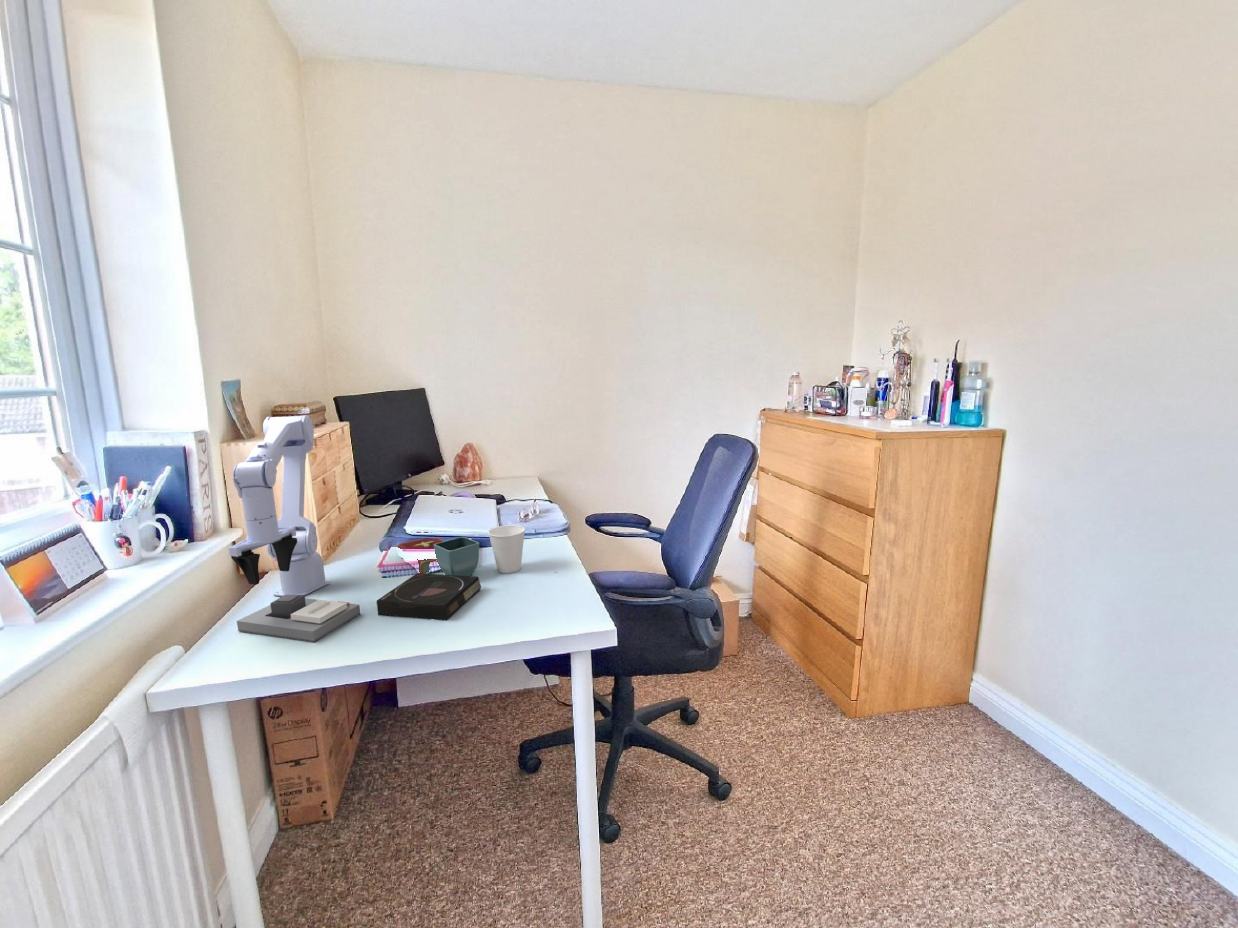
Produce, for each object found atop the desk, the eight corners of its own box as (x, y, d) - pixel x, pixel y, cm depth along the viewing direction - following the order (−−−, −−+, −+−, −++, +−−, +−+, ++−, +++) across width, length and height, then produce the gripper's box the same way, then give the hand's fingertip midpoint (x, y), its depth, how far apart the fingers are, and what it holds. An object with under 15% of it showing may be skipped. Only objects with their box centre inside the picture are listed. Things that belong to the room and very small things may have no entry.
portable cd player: (448, 622, 120) (447, 605, 120) (378, 617, 124) (376, 600, 123) (481, 592, 136) (480, 576, 136) (418, 588, 140) (417, 573, 139)
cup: (495, 563, 154) (493, 525, 152) (531, 562, 154) (528, 524, 152) (485, 576, 145) (483, 536, 143) (523, 576, 144) (521, 535, 142)
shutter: (319, 604, 124) (318, 597, 123) (347, 607, 122) (346, 600, 121) (291, 619, 117) (290, 611, 116) (320, 623, 114) (319, 615, 114)
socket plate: (289, 605, 130) (288, 593, 129) (360, 614, 124) (359, 601, 124) (238, 631, 118) (236, 618, 117) (314, 642, 112) (312, 628, 112)
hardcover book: (421, 577, 147) (420, 562, 146) (397, 556, 163) (395, 543, 162) (464, 566, 154) (463, 551, 153) (437, 547, 170) (436, 534, 170)
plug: (307, 615, 124) (304, 593, 123) (293, 624, 119) (289, 602, 118) (288, 614, 124) (285, 593, 123) (273, 624, 120) (270, 601, 119)
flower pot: (435, 576, 146) (432, 543, 144) (465, 567, 152) (463, 535, 150) (451, 585, 140) (448, 551, 138) (482, 575, 146) (480, 542, 144)
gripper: (275, 507, 127) (283, 563, 129) (214, 525, 113) (224, 588, 116) (300, 508, 125) (307, 566, 127) (240, 527, 111) (250, 591, 114)
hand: (269, 577), depth 121 cm, fingers open, 7 cm apart
